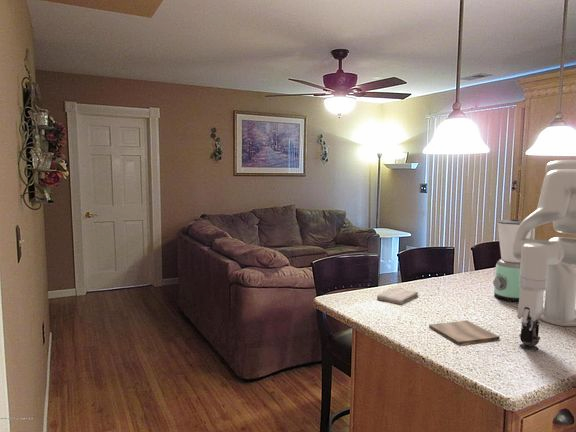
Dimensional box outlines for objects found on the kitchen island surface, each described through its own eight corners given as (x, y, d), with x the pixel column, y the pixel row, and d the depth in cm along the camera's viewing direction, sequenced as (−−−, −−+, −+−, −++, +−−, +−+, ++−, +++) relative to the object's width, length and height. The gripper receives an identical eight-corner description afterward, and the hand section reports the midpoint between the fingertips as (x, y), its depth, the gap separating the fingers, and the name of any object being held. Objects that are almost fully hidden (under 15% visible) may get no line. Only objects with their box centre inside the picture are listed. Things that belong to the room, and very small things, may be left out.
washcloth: (419, 296, 192) (419, 289, 192) (402, 306, 178) (402, 299, 178) (394, 291, 199) (394, 285, 199) (376, 300, 186) (376, 293, 185)
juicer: (508, 304, 179) (513, 222, 175) (483, 296, 192) (487, 218, 188) (541, 300, 186) (547, 220, 182) (515, 292, 198) (520, 217, 194)
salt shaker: (520, 342, 140) (522, 306, 139) (541, 346, 136) (543, 310, 135) (516, 348, 135) (518, 311, 134) (537, 353, 132) (540, 315, 130)
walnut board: (466, 323, 157) (467, 320, 157) (499, 339, 142) (499, 336, 142) (429, 327, 153) (429, 324, 153) (458, 344, 138) (458, 341, 138)
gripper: (527, 275, 142) (524, 328, 144) (511, 286, 130) (507, 343, 132) (553, 280, 137) (550, 334, 139) (538, 291, 125) (535, 350, 127)
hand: (529, 338), depth 135 cm, fingers closed on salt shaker, 5 cm apart
